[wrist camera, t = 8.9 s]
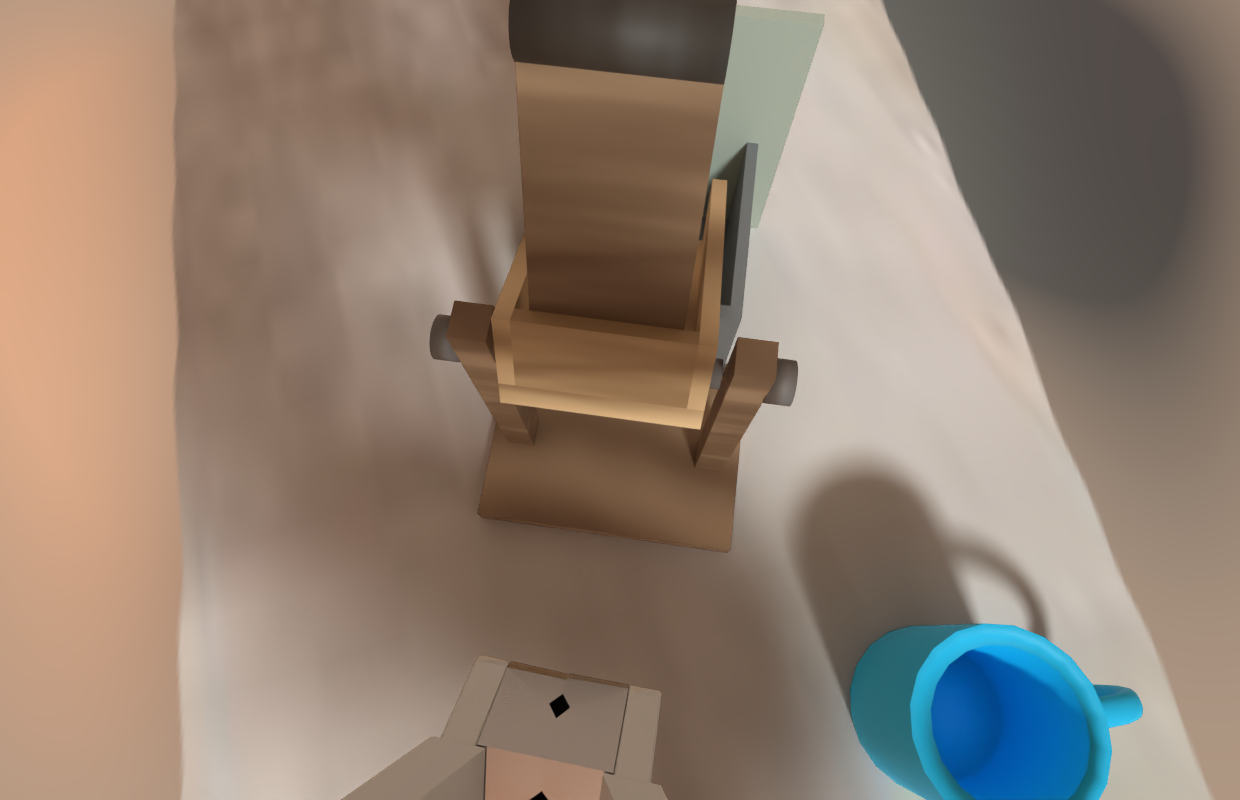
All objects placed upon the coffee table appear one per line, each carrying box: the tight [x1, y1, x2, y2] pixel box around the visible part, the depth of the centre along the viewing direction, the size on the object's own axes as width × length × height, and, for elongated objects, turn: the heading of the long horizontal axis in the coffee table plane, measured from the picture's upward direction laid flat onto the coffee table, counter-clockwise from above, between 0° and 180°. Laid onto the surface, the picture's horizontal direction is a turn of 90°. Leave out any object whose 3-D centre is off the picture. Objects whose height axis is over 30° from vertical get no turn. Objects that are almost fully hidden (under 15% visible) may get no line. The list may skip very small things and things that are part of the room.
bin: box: [699, 5, 825, 367], centre depth 37 cm, size 11×14×16 cm
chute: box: [491, 0, 737, 429], centre depth 24 cm, size 10×9×15 cm
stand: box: [430, 301, 798, 552], centre depth 33 cm, size 10×14×16 cm
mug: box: [850, 624, 1143, 800], centre depth 33 cm, size 12×8×8 cm
